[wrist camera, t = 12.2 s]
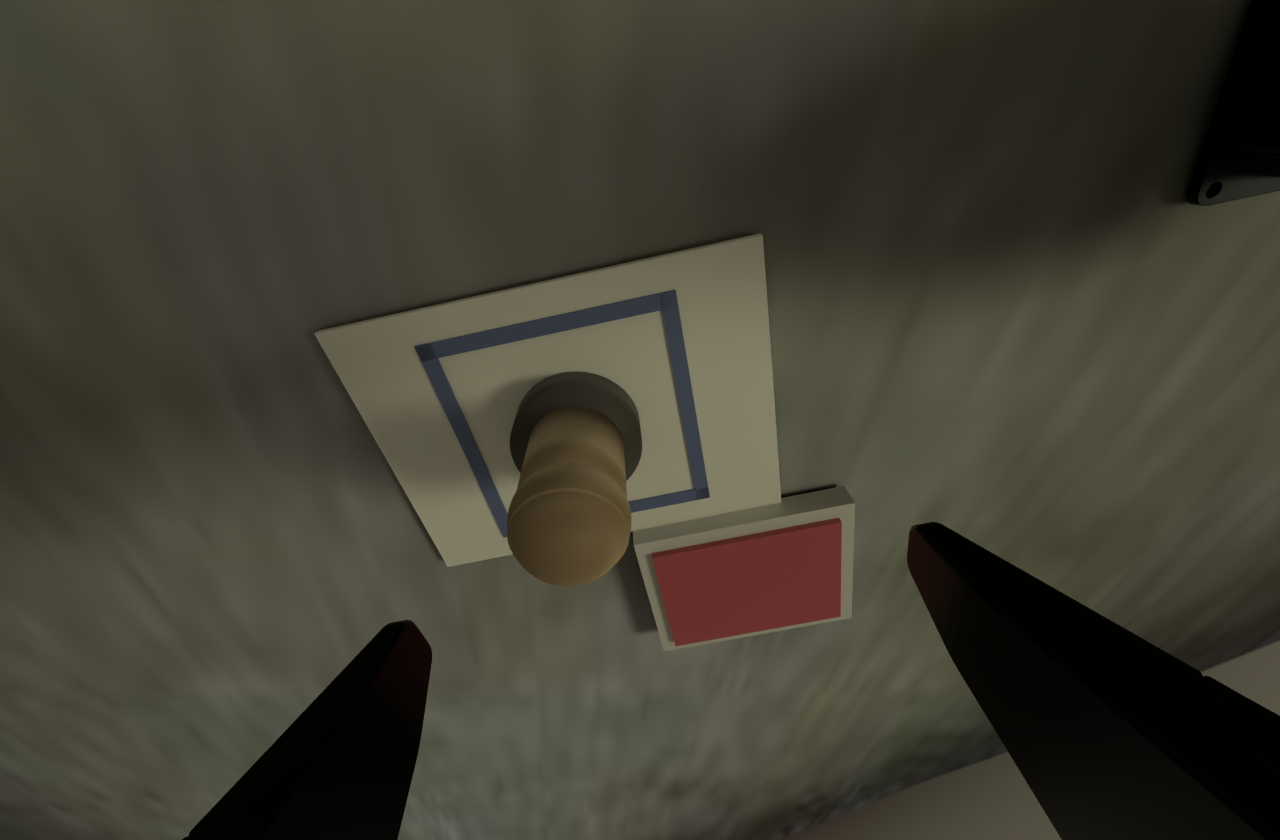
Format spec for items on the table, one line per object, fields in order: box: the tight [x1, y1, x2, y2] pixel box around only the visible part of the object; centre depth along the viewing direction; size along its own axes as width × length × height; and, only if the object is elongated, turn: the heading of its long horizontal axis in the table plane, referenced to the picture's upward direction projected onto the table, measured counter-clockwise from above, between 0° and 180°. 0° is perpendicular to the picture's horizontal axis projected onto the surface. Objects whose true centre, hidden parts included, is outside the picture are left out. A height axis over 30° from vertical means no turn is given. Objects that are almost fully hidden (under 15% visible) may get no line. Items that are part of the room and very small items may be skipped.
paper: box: [314, 233, 781, 567], centre depth 20 cm, size 16×12×1 cm
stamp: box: [507, 371, 642, 586], centre depth 17 cm, size 5×5×8 cm
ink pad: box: [633, 486, 855, 652], centre depth 25 cm, size 10×8×2 cm
